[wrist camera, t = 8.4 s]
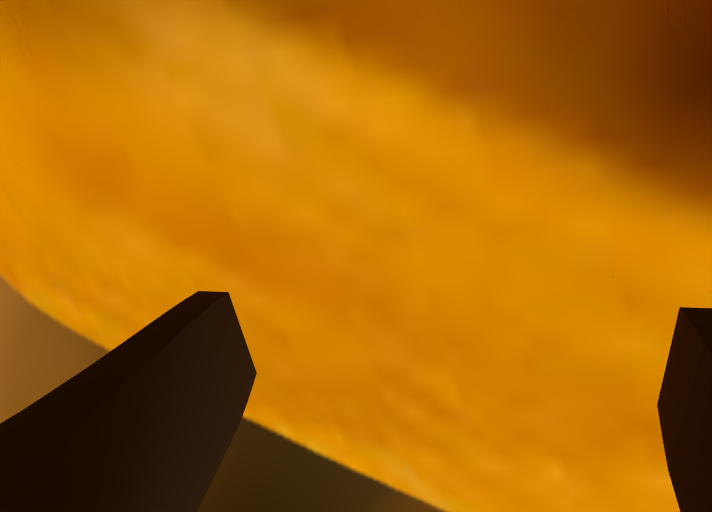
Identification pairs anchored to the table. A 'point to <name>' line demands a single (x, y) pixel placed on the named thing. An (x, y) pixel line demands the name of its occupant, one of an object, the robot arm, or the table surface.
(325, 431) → the table surface
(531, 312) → the table surface
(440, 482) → the table surface
